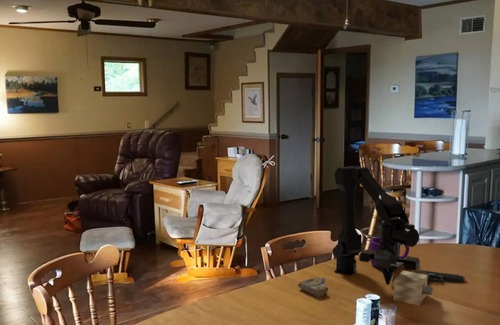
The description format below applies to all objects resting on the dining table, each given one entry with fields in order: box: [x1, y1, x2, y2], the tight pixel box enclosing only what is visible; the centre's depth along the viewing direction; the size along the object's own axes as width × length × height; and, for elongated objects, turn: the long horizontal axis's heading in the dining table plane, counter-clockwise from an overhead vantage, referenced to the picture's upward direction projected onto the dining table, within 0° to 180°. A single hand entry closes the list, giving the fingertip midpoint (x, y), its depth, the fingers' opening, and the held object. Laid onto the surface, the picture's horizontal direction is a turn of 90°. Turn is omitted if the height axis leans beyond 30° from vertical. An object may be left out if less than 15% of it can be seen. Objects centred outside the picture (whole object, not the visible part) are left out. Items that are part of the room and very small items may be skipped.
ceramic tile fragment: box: [297, 277, 328, 298], centre depth 163 cm, size 12×3×10 cm
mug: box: [369, 236, 410, 269], centre depth 189 cm, size 17×11×10 cm, turn 111°
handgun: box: [412, 269, 466, 287], centre depth 170 cm, size 3×18×12 cm
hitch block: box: [393, 270, 428, 306], centre depth 157 cm, size 8×10×7 cm
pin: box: [390, 276, 434, 296], centre depth 157 cm, size 12×4×4 cm, turn 57°
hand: (388, 284), depth 161 cm, fingers closed
